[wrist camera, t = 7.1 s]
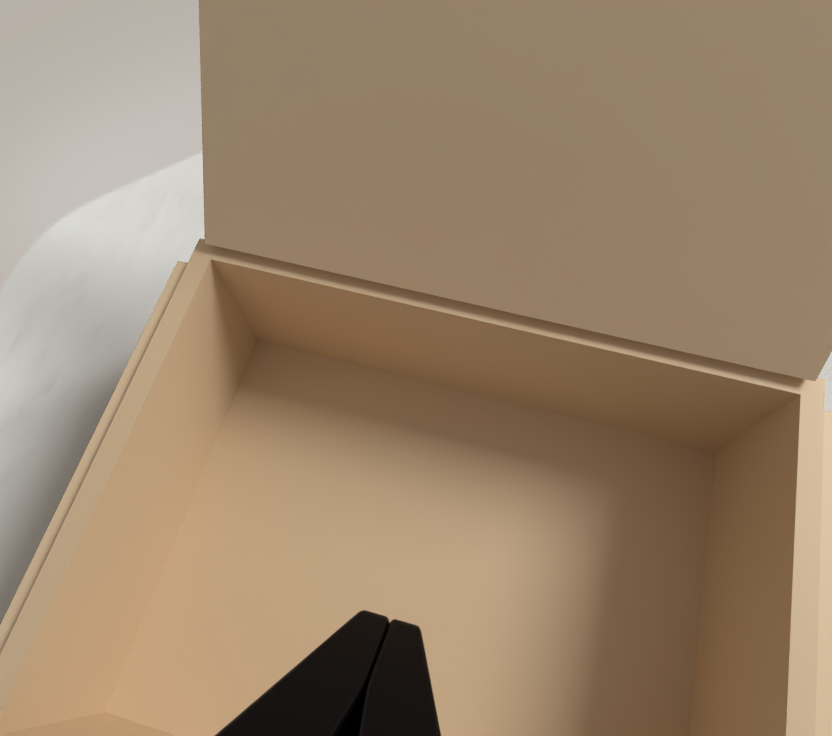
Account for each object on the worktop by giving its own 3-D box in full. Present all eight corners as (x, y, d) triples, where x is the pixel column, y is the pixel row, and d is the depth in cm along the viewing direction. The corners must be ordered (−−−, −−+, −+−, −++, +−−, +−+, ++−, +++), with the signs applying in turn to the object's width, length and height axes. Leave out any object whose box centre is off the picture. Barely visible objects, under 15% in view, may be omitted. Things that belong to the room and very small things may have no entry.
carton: (702, 954, 17) (831, 1104, 12) (66, 737, 19) (-79, 775, 14) (742, 447, 22) (842, 383, 17) (240, 325, 25) (185, 235, 19)
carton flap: (1102, -152, 11) (1085, -146, 12) (192, -261, 13) (202, -253, 14) (815, 381, 17) (810, 374, 17) (204, 243, 19) (212, 239, 19)
